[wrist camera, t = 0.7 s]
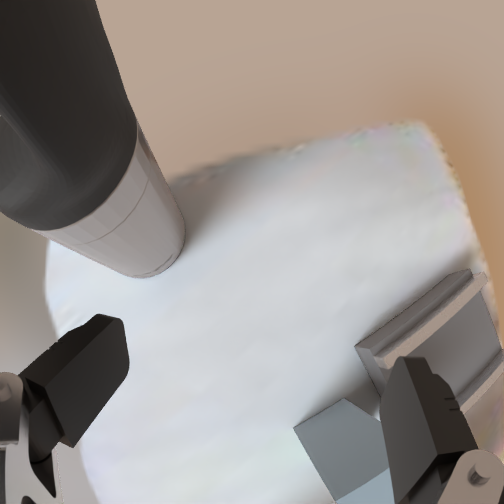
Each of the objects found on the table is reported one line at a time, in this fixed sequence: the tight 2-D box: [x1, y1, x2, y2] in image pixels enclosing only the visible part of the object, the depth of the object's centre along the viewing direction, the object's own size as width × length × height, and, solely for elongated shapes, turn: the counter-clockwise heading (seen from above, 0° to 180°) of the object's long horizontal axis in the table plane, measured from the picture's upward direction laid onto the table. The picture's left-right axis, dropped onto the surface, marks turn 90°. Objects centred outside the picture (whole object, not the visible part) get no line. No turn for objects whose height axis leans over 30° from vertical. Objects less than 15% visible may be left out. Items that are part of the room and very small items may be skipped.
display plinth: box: [354, 268, 504, 415], centre depth 27 cm, size 13×15×6 cm
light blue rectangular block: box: [293, 398, 395, 504], centre depth 21 cm, size 4×6×15 cm
